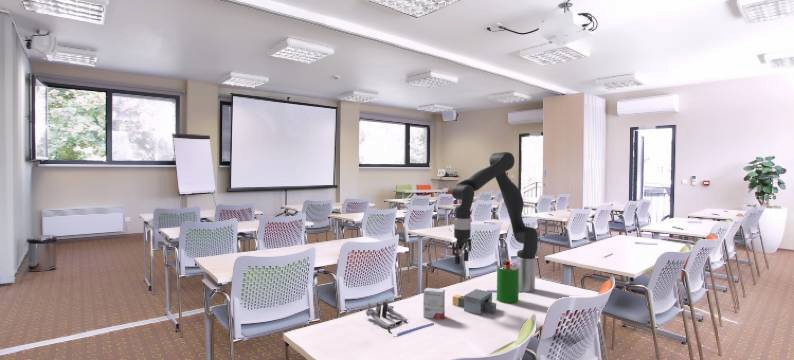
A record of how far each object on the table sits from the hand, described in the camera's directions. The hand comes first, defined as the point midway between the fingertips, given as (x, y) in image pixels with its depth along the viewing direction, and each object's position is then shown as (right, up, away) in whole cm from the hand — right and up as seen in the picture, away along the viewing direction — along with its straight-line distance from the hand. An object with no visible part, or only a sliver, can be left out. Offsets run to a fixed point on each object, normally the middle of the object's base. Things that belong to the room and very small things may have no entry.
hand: (461, 262), depth 189 cm
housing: (+7, -20, -4) cm, 22 cm away
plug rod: (+5, -20, -3) cm, 21 cm away
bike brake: (-33, -21, -20) cm, 44 cm away
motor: (+23, -20, +8) cm, 32 cm away
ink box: (-14, -21, -14) cm, 29 cm away
